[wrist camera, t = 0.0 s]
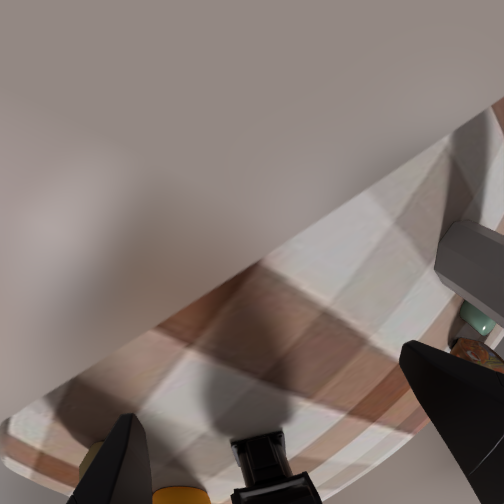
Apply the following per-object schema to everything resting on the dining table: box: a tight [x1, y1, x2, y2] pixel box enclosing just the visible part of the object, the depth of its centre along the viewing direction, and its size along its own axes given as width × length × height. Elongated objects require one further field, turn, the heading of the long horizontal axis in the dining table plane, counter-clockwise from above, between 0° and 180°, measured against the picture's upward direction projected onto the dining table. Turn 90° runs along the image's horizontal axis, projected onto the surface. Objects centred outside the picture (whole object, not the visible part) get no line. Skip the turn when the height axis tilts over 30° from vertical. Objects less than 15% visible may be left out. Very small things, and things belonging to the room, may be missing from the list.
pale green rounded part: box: [460, 300, 496, 336], centre depth 31 cm, size 4×4×4 cm
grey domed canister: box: [434, 220, 504, 328], centre depth 22 cm, size 7×7×13 cm
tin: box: [450, 338, 504, 374], centre depth 33 cm, size 15×3×8 cm, turn 66°
